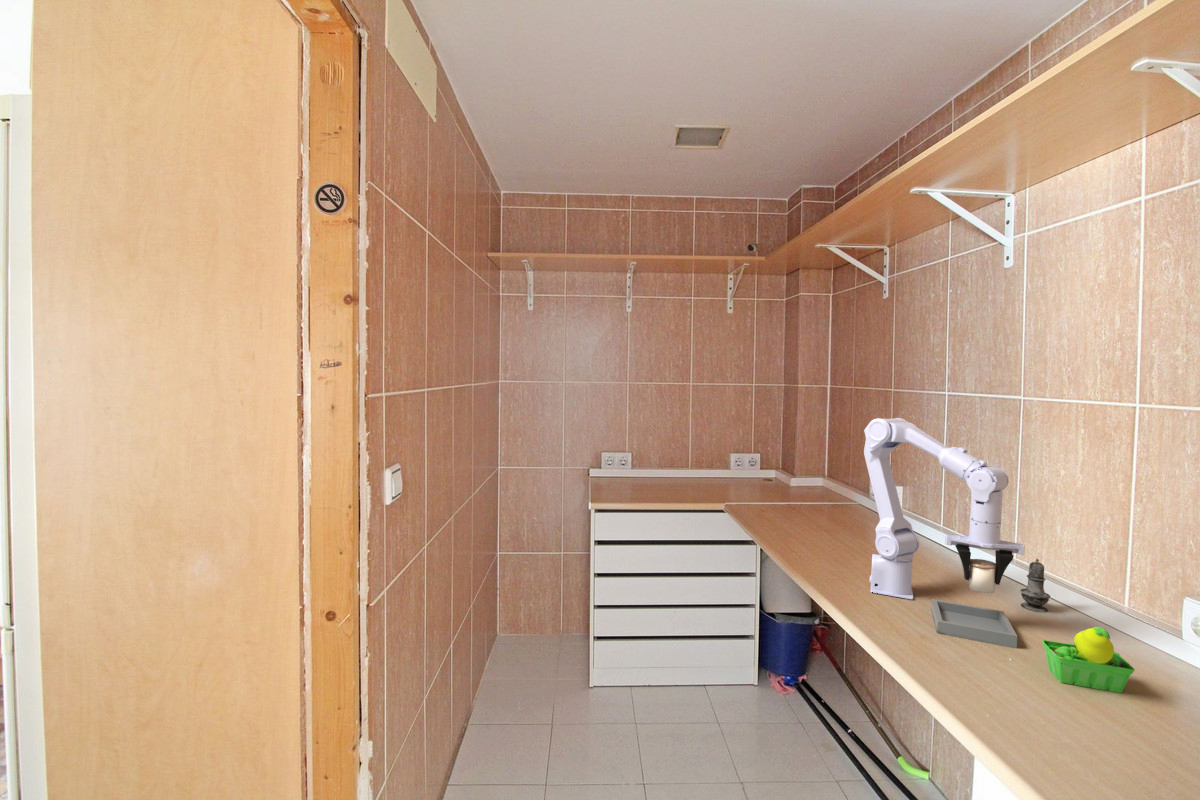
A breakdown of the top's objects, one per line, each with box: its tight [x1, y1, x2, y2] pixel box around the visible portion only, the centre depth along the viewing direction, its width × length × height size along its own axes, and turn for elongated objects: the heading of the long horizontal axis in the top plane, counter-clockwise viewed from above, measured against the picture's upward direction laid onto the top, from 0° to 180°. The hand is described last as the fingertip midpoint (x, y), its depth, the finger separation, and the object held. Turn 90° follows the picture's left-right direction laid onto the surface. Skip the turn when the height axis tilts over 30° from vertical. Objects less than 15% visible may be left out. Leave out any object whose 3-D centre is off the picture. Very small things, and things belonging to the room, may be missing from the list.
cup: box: [968, 558, 997, 594], centre depth 128 cm, size 5×5×6 cm
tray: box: [930, 598, 1018, 649], centre depth 125 cm, size 14×14×2 cm
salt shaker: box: [1019, 558, 1051, 613], centre depth 137 cm, size 6×6×12 cm
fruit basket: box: [1041, 626, 1135, 694], centre depth 103 cm, size 11×9×11 cm
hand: (981, 580), depth 128 cm, fingers closed on cup, 5 cm apart
